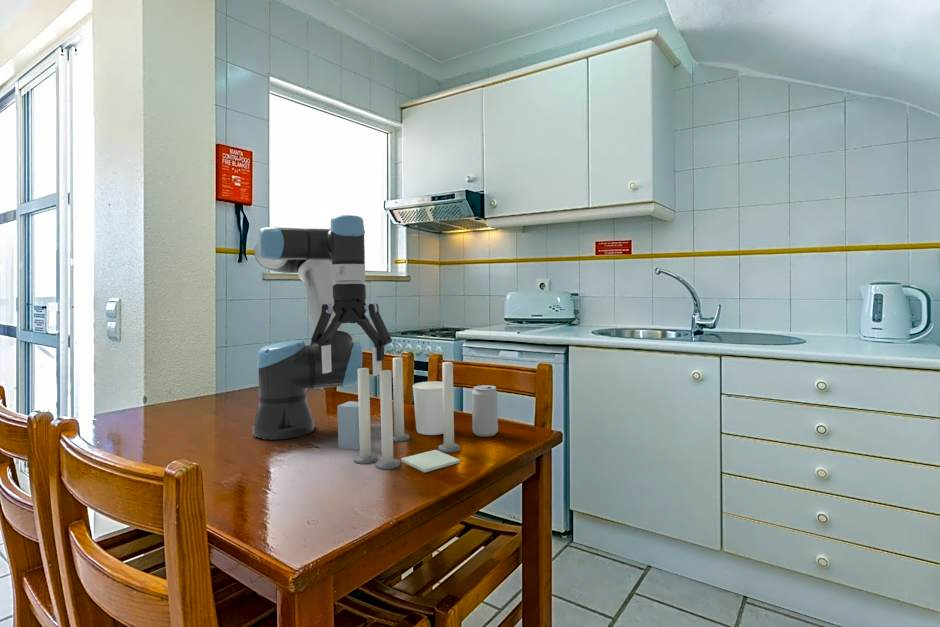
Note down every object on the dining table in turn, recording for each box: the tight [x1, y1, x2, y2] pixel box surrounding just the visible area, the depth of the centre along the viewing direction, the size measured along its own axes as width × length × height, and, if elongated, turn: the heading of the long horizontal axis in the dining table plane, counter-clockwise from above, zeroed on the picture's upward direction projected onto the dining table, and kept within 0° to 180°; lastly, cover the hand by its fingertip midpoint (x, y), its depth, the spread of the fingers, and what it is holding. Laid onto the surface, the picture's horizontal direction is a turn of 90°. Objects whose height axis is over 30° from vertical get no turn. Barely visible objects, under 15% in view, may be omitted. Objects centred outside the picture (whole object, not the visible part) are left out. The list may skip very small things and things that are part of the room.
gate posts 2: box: [375, 361, 461, 471], centre depth 114 cm, size 5×21×20 cm, turn 129°
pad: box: [400, 449, 461, 473], centre depth 111 cm, size 9×9×1 cm
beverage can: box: [471, 384, 499, 438], centre depth 131 cm, size 6×6×12 cm
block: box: [336, 400, 360, 451], centre depth 123 cm, size 5×5×10 cm
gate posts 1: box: [353, 357, 411, 465], centre depth 120 cm, size 5×21×20 cm, turn 161°
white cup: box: [412, 380, 444, 436], centre depth 135 cm, size 10×10×12 cm
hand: (351, 373), depth 122 cm, fingers open, 13 cm apart
